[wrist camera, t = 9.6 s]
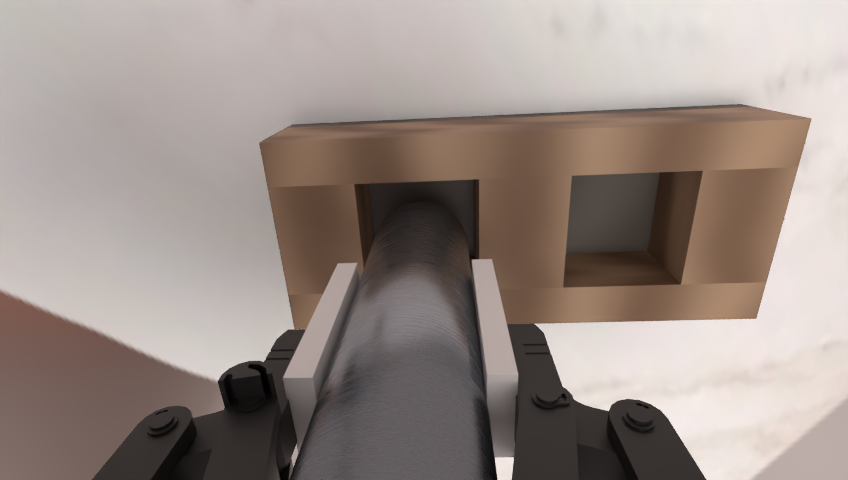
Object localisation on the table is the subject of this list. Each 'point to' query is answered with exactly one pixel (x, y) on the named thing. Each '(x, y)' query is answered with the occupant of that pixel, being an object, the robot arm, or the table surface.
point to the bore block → (553, 205)
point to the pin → (406, 364)
